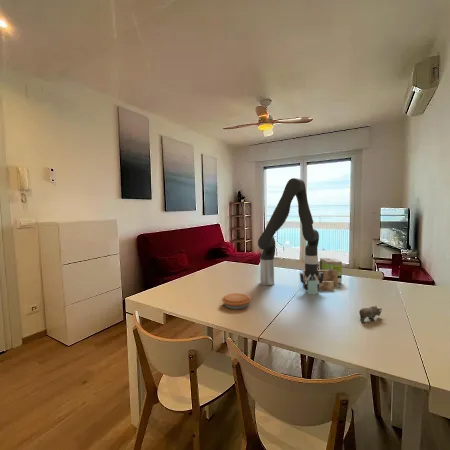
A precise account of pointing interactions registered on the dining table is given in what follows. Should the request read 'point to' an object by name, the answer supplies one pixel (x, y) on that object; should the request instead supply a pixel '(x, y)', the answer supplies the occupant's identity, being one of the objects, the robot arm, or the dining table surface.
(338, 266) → the tea box
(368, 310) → the rhino figurine
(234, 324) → the dining table surface
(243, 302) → the pie
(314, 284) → the tall sage green box
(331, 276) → the wooden stand
